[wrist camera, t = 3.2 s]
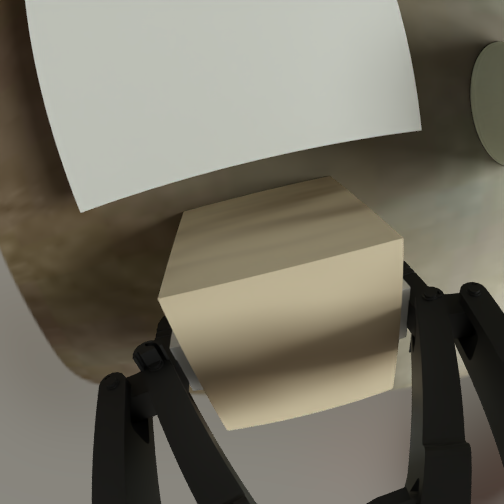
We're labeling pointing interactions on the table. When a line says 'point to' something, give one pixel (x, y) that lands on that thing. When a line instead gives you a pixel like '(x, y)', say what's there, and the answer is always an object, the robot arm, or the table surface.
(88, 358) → the table surface
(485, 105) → the can
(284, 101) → the white square slab
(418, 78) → the table surface
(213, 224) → the maple cube
